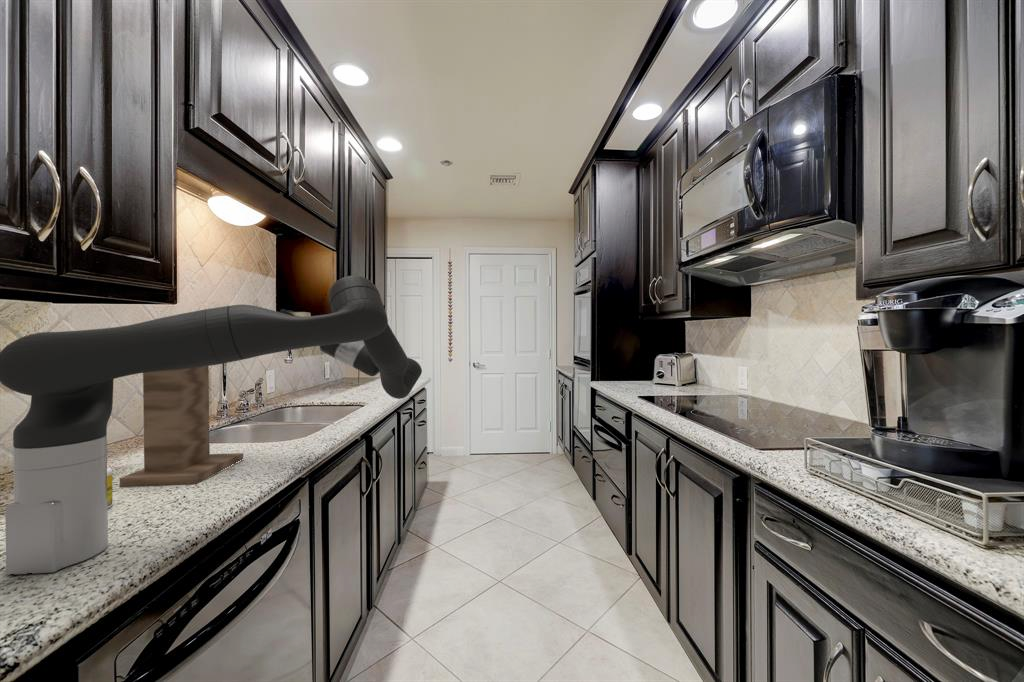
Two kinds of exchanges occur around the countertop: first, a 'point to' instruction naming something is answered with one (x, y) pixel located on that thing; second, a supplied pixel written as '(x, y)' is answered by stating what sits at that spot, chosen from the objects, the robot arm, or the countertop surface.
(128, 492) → the countertop surface
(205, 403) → the stand
